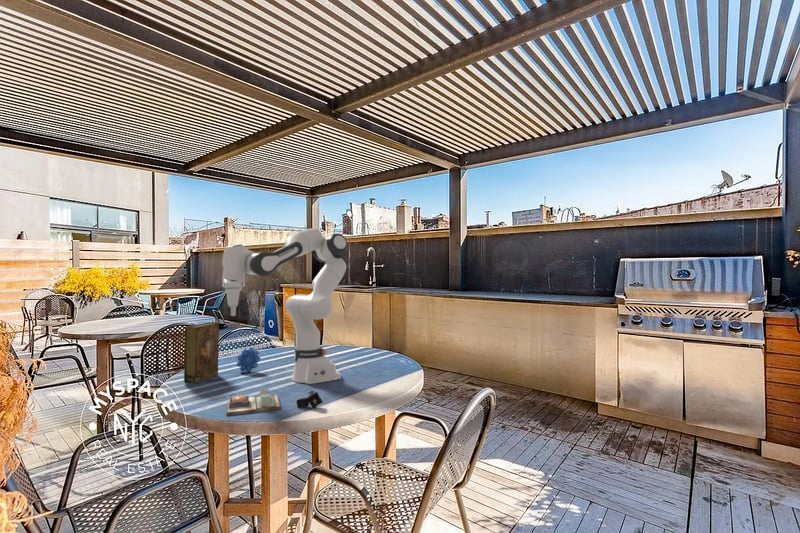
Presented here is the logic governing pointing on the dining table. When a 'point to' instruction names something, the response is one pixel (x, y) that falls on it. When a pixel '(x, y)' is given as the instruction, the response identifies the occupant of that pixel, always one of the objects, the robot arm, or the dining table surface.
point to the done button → (239, 398)
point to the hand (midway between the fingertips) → (233, 315)
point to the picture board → (251, 405)
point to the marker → (265, 397)
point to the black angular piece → (309, 400)
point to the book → (201, 352)
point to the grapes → (248, 359)
